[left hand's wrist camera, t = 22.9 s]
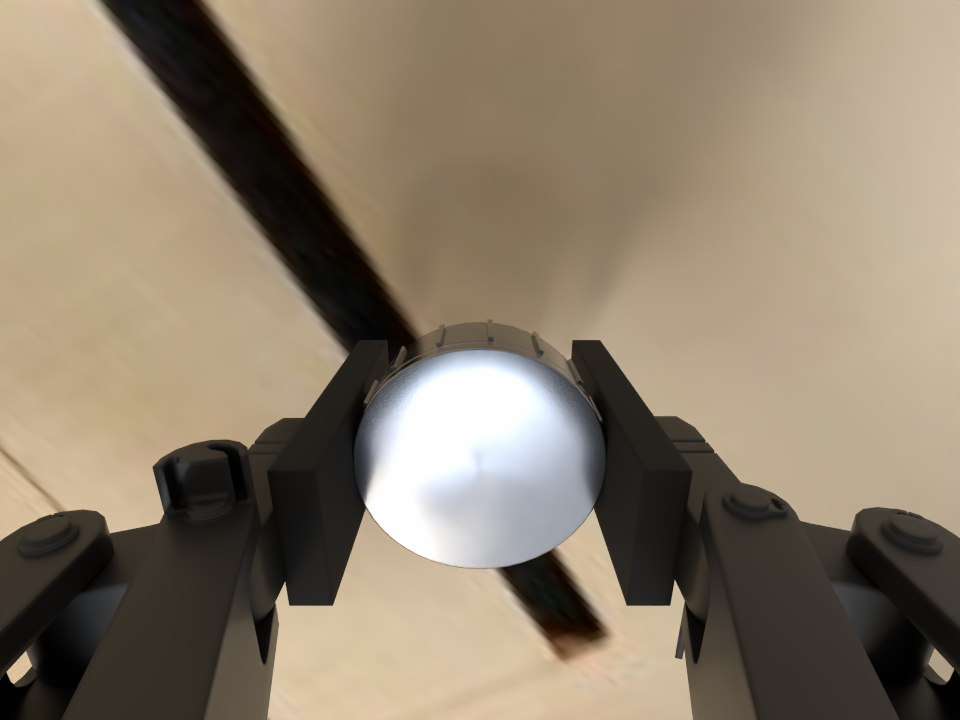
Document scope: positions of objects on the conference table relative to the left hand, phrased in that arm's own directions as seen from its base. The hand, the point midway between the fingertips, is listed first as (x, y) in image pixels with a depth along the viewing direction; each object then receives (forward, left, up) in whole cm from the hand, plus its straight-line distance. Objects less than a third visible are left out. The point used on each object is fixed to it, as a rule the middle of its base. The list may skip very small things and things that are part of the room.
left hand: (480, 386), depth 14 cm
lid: (0, 0, +4) cm, 4 cm away
